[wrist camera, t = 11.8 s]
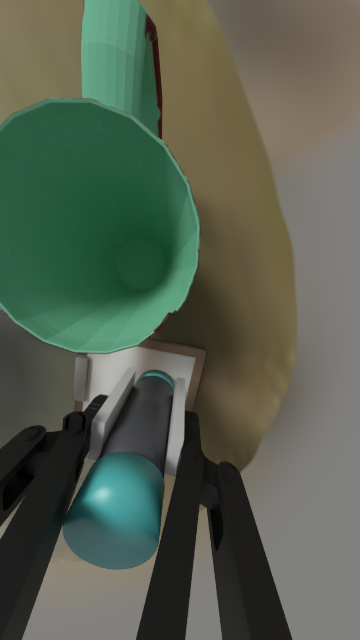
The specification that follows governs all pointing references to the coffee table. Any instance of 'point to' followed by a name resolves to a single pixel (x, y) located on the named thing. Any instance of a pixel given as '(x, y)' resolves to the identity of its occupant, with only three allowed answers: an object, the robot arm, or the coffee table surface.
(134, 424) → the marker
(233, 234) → the coffee table surface
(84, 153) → the mug
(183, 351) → the clipboard
